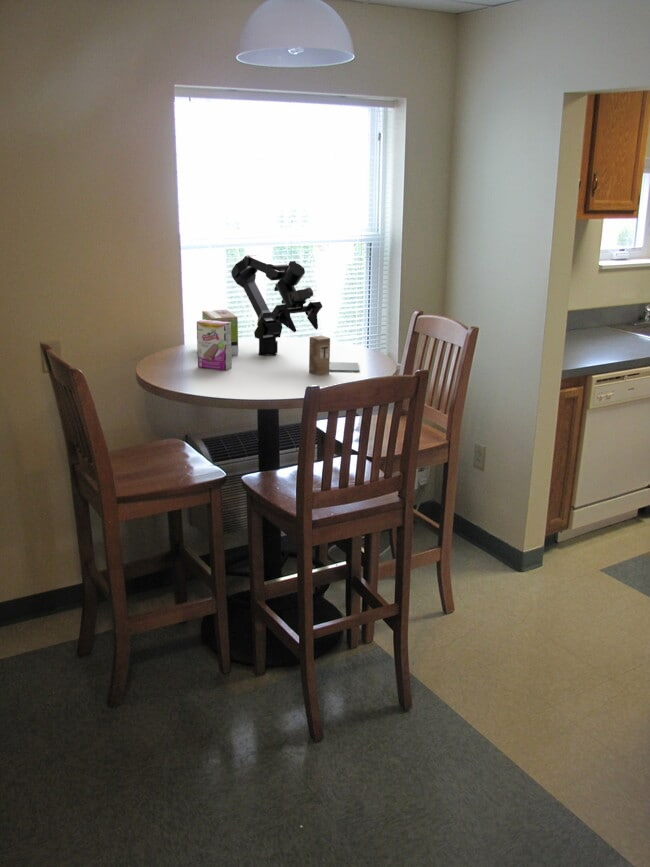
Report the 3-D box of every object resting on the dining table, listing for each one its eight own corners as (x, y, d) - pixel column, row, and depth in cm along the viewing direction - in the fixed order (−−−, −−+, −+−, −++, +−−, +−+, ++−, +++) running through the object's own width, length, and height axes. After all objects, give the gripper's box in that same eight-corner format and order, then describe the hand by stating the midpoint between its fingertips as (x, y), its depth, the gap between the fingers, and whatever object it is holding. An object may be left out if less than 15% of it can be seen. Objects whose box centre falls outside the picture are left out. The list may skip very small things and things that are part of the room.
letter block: (309, 372, 264) (309, 337, 260) (320, 370, 267) (321, 335, 262) (318, 376, 260) (319, 340, 256) (330, 374, 263) (330, 338, 258)
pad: (327, 371, 266) (327, 369, 266) (327, 363, 276) (327, 362, 276) (359, 372, 266) (359, 370, 266) (357, 364, 276) (357, 362, 276)
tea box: (202, 348, 295) (201, 310, 290) (227, 346, 298) (227, 308, 294) (213, 357, 282) (212, 317, 277) (239, 355, 286) (238, 315, 281)
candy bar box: (197, 368, 266) (195, 321, 261) (203, 364, 270) (202, 318, 265) (226, 371, 263) (225, 324, 257) (232, 368, 267) (231, 321, 262)
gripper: (275, 281, 258) (293, 319, 253) (320, 278, 269) (338, 314, 264) (263, 301, 267) (280, 338, 262) (306, 297, 277) (324, 332, 273)
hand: (306, 330), depth 265 cm, fingers open, 9 cm apart
